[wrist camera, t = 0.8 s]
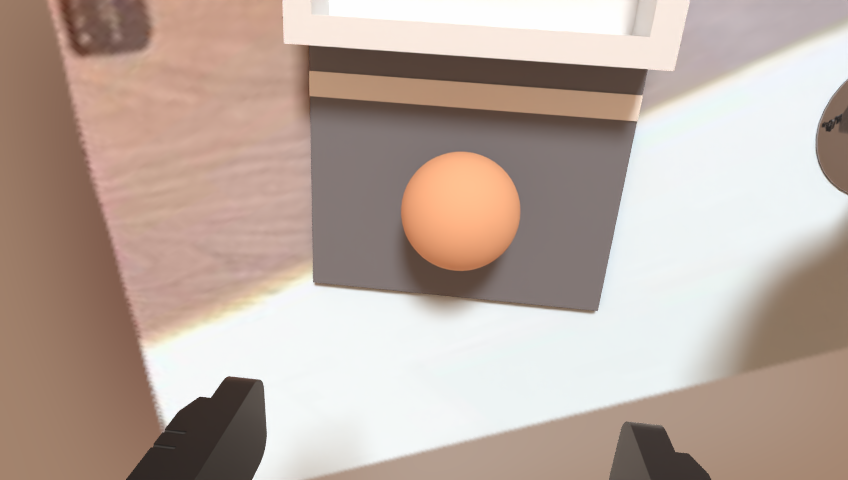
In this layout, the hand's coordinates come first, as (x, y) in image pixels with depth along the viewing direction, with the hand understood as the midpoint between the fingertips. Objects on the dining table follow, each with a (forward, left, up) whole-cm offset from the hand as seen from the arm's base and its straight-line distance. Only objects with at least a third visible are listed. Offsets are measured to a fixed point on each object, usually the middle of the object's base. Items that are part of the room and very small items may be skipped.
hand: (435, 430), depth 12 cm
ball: (0, 0, -15) cm, 15 cm away
